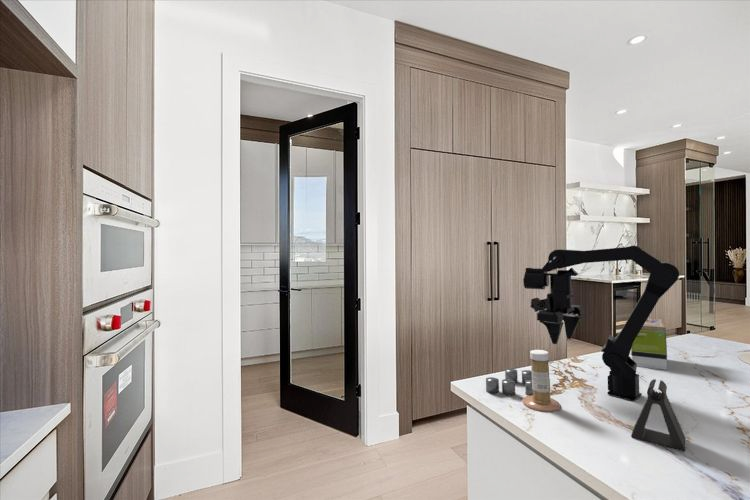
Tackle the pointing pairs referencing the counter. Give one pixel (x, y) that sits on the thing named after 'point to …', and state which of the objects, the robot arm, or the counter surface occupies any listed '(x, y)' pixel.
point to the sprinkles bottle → (540, 376)
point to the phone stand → (675, 432)
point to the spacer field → (510, 383)
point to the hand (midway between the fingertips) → (561, 341)
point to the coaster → (539, 407)
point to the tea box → (651, 345)
